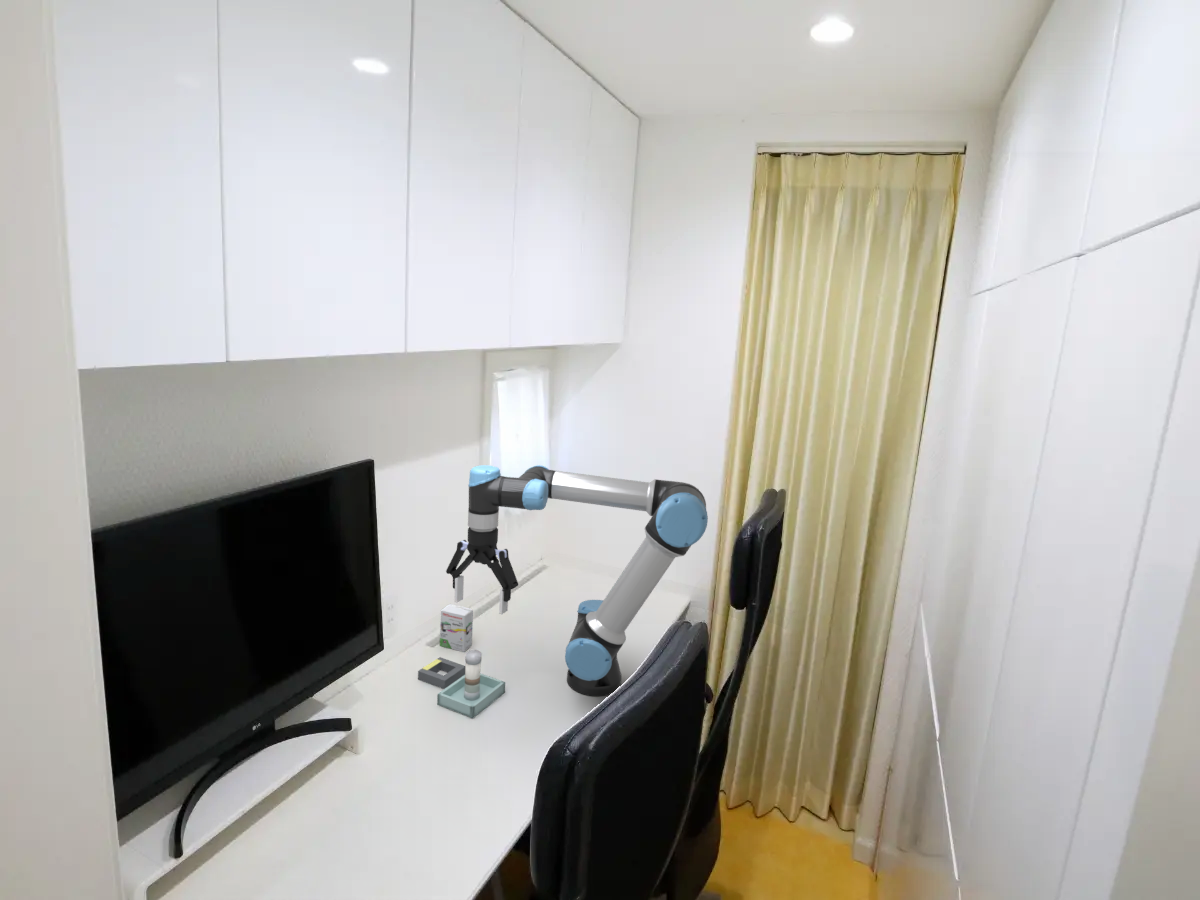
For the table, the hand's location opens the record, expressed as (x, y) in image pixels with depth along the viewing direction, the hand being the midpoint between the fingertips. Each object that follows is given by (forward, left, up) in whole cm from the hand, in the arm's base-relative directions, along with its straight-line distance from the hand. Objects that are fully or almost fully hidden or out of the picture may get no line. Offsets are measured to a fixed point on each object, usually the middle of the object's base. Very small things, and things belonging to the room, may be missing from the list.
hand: (480, 606), depth 170 cm
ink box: (+20, -17, -24) cm, 36 cm away
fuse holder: (+12, -1, -24) cm, 27 cm away
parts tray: (-1, +3, -24) cm, 24 cm away
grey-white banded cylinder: (-1, +3, -24) cm, 24 cm away
